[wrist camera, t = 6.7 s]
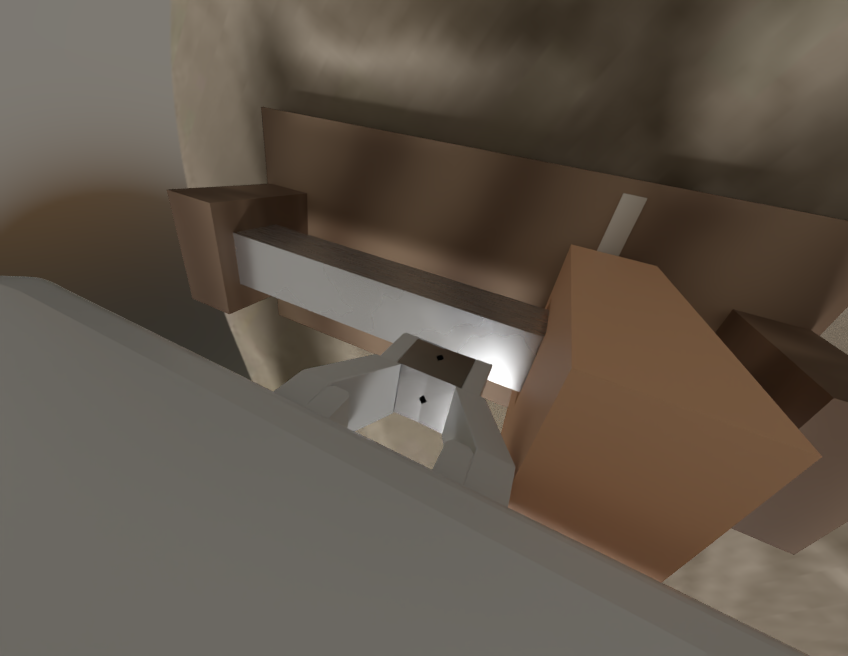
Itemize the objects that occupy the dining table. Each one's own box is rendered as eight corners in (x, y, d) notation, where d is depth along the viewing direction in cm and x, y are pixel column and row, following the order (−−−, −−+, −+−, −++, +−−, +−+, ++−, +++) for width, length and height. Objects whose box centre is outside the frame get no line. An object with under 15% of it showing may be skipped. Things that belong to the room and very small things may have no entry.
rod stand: (889, 228, 10) (1247, 298, 5) (675, 462, 16) (727, 607, 11) (276, 109, 16) (135, 82, 11) (289, 309, 23) (202, 353, 17)
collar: (657, 266, 11) (822, 457, 4) (576, 406, 15) (582, 644, 7) (571, 244, 12) (571, 367, 5) (514, 382, 16) (463, 576, 8)
